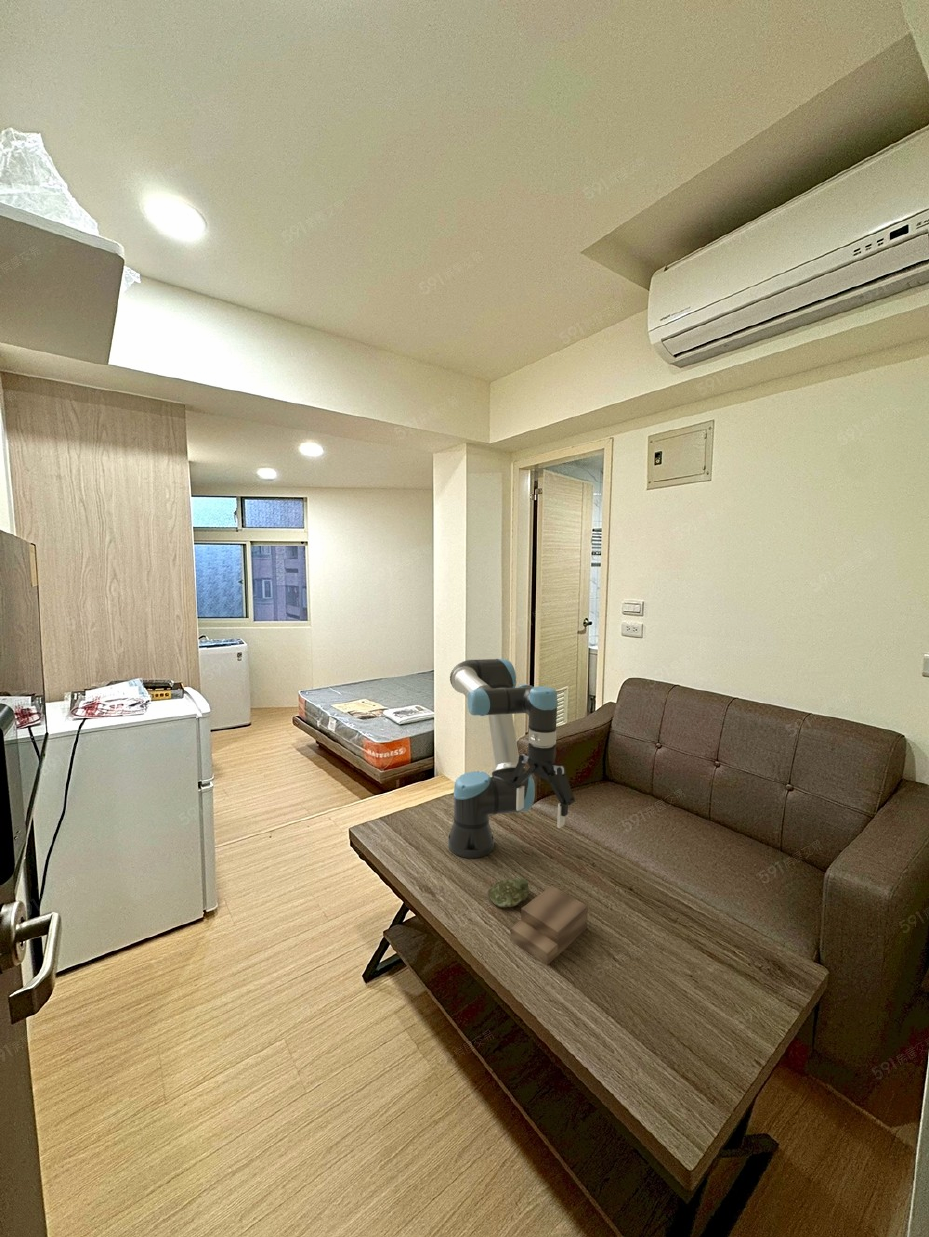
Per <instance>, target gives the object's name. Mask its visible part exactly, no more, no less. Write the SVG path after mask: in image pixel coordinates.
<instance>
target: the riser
mask: <svg viewBox="0 0 929 1237" xmlns="http://www.w3.org/2000/svg"><path fill="white" fill-rule="evenodd" d="M588 908H589V906H588V905H587V904H586V903H583V902H581V901H580V900H578V899H577V898H574V897H573V896H572V895H569V894H567V893H566V892H565V891H562V890H561V889H559V888H557V887H555V886H554V885H551V886H549V887H547V888H546V889H545V890H544V891H542V892H541V893H540V894H538V895H537V896H536V897H534V898H533V899H531V901H529V902H527V903H526V905H524V906H523V907H521V909H520V910H521V911H520V920H519V921H517V922H516V923H515V924H514V925H512V926H511V927H510V930H509V931H510V940H511V941H512V942H513V943H515V944H516V945H517V946H519V947H521V948H522V949H523V950H524V951H526V952H528V953H529V954H530V955H532V956H533V957H534V958H536V959H538V961H540V962H541V963H543V964H544V965H546V966H548V965H550V964H551V963H552V962H553V961H554V960H555V959H556V958H557V957H558V956H559V955H561V954H562V952H564V951H565V949H566V948H568V947H569V946H570V944H572V943H573V942H574V941H575V940H576V939H577V938H578V937H579V936H580V935H582V934H583V933H584V932H585V931H586V930H587V929H588V913H589V912H588V910H589V909H588Z"/></svg>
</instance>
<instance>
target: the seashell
mask: <svg viewBox="0 0 929 1237" xmlns="http://www.w3.org/2000/svg"><path fill="white" fill-rule="evenodd" d="M530 891H531V890H530V888H529V882H528V880H527V879H525V878H523V877H516V878H515V877H514V878H509V879H505V880H501V881H498V882H496V883H495V884H493V885H492V886H491V887H490V888H489V890H488V891H487V896H489V898H490V900H491V902H492V903H493V904H494V906H497V907H498V908H505V909H506V908H511V907H516V906H518V905H519V904H520V903H521V902H523V901H525V900H527V897H528V895H529V893H530Z"/></svg>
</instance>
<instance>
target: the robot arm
mask: <svg viewBox="0 0 929 1237" xmlns="http://www.w3.org/2000/svg"><path fill="white" fill-rule="evenodd" d="M449 682H450V685H451V686H452V688H453V689H454V691H455V692H457V693H459V694H463V695H464V696H465V698H467V709H468V712H469V714H470V715H472V716H480V717H484V716H488V723H489V730H490V738H491V745H492V751H493V757H494V758H493V761H494V768H493V770H492V771H491V776H490V775H489V774H488V773H487V772H484V771H478V770H477V771H476V770H474V771H468V772H465V773H463V774H461V775H460V776H459V777H457V778H456V779H455V782H454V788H453V823H452V826H451V828H450V832H449V835H448V838H447V847H448V849H449V851H450V852H451V853H453V854H454V855H456V856H458V857H461V858H466V859H478V858H482V857H485V856H487V855H490V853H492V852H493V850H494V848H495V838H494V837H495V836H494V835H493V832H492V828H491V825H490V816H491V815H493V816H494V815H503V814H510V813H511V814H513V813H514V814H515V813H517V814H518V813H522V812H527V811H529V810H531V808H532V807H533V805H534V801H535V797H536V796H535V794H536V786H535V785H536V784H535V780H534V777H539V778H541V779H543V780H546V783H548V784H549V786H550V787H551V789H552V791H553V792H554V794H555V796H556V798H557V800H558V804H557V818H556V819H557V820H556V821H557V822H556V824H557V825H556V828H558V829H560V828H562V827H563V826H565V824H566V816H567V815H568V814H569V806H571V805H572V804H574V803H575V802H576V799H575V796H574V794H573V791H572V788H571V785H570V782H569V780H568V776H567V772H566V766H565V765H563V764H562V765H556V763H555V759H556V754H557V753H556V750H557V749H556V748H557V746H556V745H557V721H558V720H557V719H558V718H557V717H558V705H559V702H558V692H557V690H556V689H555V688H553V687H549V686H542V685H541V686H533V685H530V684H526V683H524V684H520V685H518V686H517V674H516V670H515V667H514V665H513V663H512V662H511V661H510V660H509V659H505V658H492V659H491V658H490V659H488V658H487V659H483V658H482V659H468V660H464V661H462V662H460V663H458V664H456V666H454V667H453V669H452V670H451V672H450V675H449ZM516 686H517V687H516ZM513 714H514V715H517V714H518V715H519V714H520V715H521V714H526V715H527V716H528V742H529V743H528V745H527V746H528V747H527V753H523V754H521V755H520V753H519V748H518V741H517V736H516V730H515V723H514V719H513V718H514V717H513ZM526 764H528V766H529V768H528V769H526V767H525V766H526ZM533 775H534V777H533ZM550 776H551V777H550Z"/></svg>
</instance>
